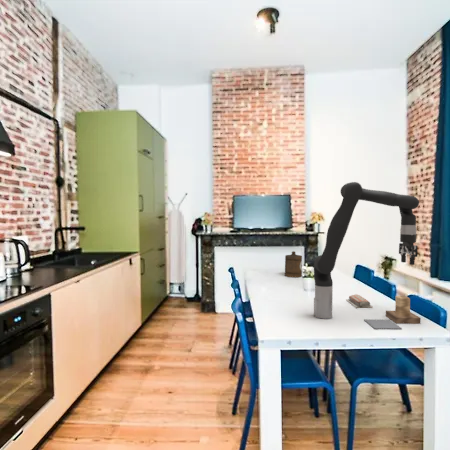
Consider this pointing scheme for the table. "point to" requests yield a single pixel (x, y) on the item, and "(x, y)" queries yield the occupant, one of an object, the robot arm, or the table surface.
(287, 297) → the table surface
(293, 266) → the wooden container
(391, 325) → the mat
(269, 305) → the table surface
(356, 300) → the packaged product
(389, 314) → the walnut ledge
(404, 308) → the maple block
